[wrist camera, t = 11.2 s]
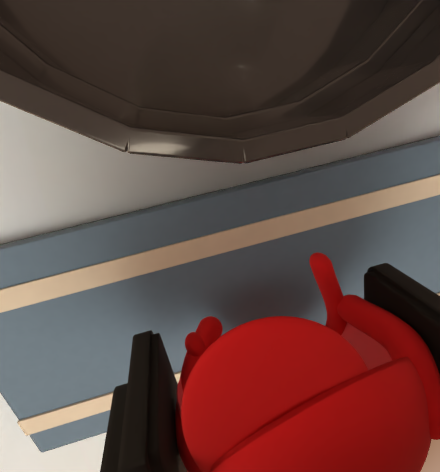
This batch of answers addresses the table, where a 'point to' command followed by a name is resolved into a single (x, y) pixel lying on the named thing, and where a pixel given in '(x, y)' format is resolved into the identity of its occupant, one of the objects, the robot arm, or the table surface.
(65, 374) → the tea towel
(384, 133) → the table surface
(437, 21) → the bowl
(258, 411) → the red rounded lobed piece
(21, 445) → the table surface
